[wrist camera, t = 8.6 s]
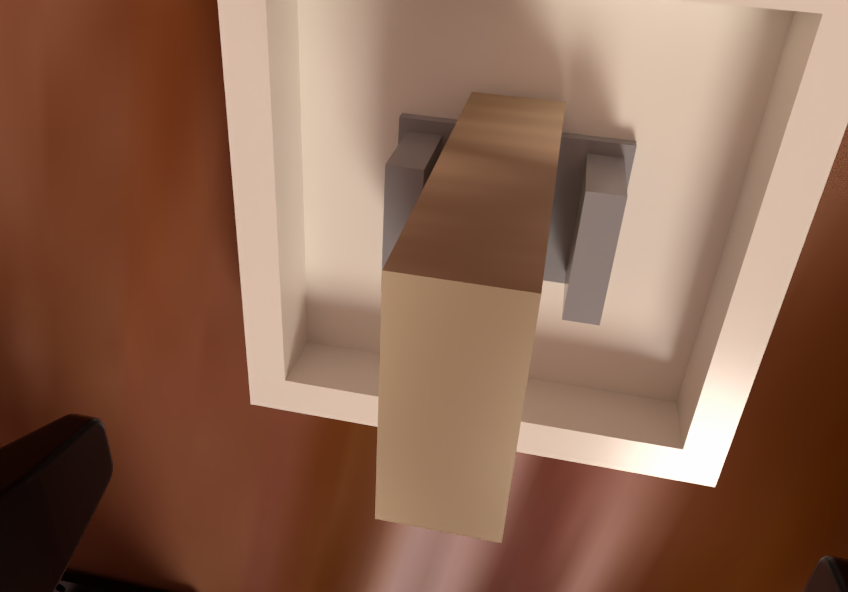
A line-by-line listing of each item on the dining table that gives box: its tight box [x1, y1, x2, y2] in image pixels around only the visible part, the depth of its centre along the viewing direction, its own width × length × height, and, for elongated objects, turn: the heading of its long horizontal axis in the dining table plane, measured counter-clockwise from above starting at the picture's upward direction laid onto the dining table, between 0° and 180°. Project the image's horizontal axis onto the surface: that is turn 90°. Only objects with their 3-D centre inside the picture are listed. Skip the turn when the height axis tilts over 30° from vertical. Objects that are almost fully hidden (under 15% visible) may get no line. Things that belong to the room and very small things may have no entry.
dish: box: [217, 0, 848, 487], centre depth 17 cm, size 12×12×3 cm
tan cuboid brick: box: [375, 92, 566, 543], centre depth 14 cm, size 2×4×8 cm, turn 177°
